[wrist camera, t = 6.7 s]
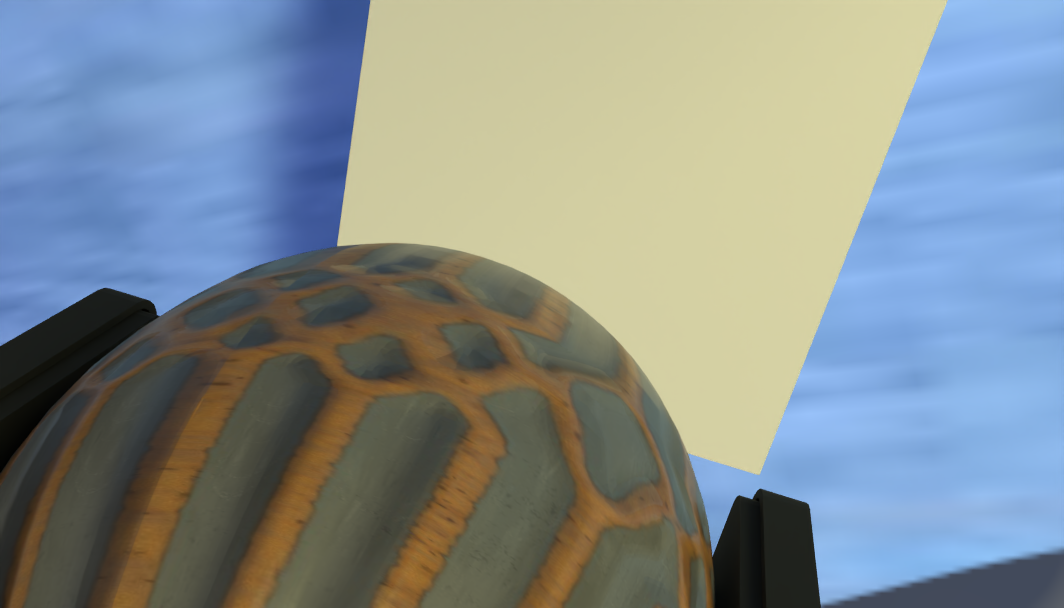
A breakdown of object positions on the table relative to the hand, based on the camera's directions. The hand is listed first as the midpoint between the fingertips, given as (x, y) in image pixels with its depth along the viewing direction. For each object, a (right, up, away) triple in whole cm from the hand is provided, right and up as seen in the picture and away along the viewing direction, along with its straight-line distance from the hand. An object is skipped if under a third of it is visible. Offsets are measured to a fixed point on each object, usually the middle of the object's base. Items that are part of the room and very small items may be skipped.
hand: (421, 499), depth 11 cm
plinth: (+4, +7, +16) cm, 18 cm away
